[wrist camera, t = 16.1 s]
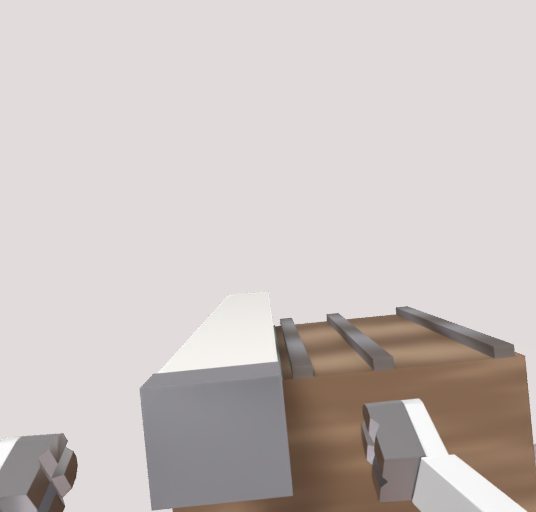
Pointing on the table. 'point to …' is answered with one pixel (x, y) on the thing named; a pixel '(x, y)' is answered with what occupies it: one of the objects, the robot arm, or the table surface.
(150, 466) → the bar
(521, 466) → the slot shelf
